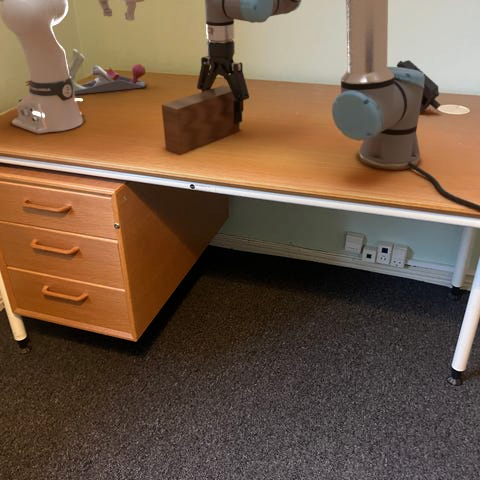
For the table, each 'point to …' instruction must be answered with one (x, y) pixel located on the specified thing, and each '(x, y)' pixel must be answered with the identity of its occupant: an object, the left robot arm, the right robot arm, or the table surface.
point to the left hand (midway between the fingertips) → (118, 18)
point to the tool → (429, 88)
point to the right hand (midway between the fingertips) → (223, 118)
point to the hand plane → (104, 78)
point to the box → (199, 119)
